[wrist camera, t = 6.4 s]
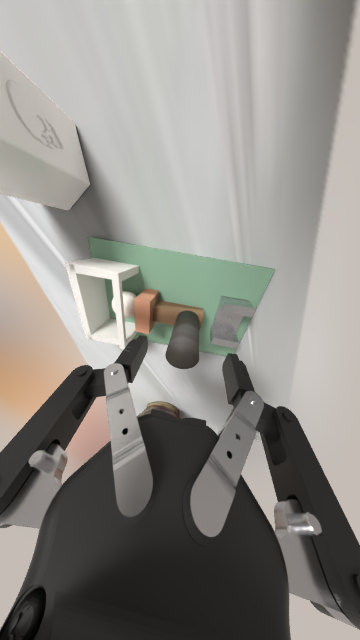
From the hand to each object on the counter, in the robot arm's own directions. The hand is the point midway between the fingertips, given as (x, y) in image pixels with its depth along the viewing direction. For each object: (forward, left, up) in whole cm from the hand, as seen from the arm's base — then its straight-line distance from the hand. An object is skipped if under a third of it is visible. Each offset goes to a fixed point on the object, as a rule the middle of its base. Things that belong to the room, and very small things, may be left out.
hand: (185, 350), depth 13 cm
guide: (0, +6, -10) cm, 11 cm away
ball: (0, -10, -8) cm, 12 cm away
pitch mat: (0, -3, -10) cm, 10 cm away
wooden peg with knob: (0, -3, -9) cm, 10 cm away
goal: (0, -12, -10) cm, 15 cm away
